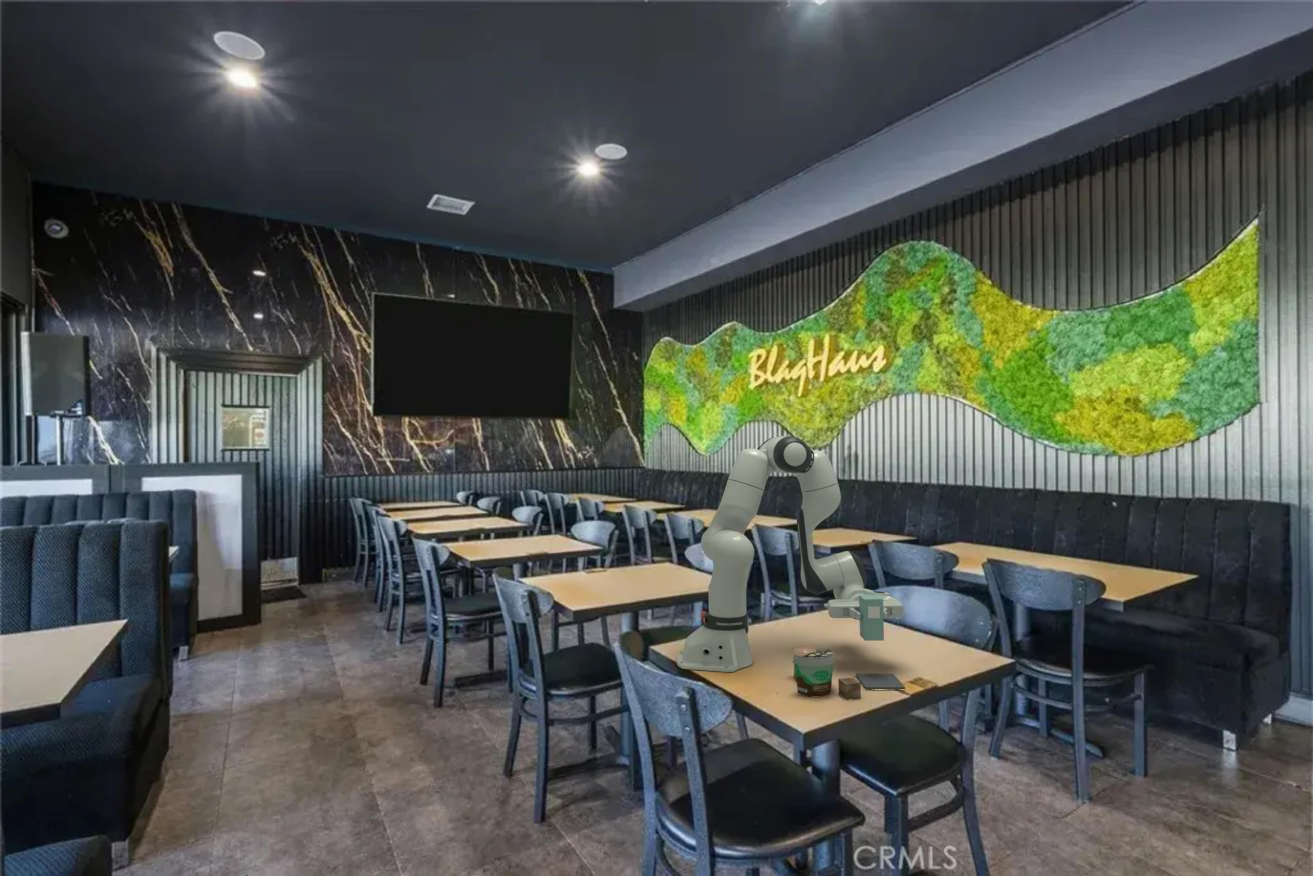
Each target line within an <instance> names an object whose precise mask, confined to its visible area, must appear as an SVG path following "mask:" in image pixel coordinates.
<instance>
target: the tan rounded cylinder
mask: <svg viewBox="0 0 1313 876" xmlns="http://www.w3.org/2000/svg"><path fill="white" fill-rule="evenodd" d="M810 653H817V649H816V648H815V647H813V646H808V645H800V646H795V647H793V655H794V654H795V655H798V656H805V655H807V654H810ZM793 679H794V680H795V682H797V680H796V671H795V663H793Z"/></svg>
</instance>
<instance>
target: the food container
mask: <svg viewBox="0 0 1313 876" xmlns="http://www.w3.org/2000/svg"><path fill="white" fill-rule="evenodd" d="M826 649H827V650H824V651H820V652H816V653H810V654H807V655H805V656H798V655H795V654H794V653H793V657H792V664H794V663H795V671H796V680H797V681H796V680H795V681H796V687H797V689H796V690H797V694H799V693H800V695H804V696H806V697H812V696H820V697H825V695H826V696H828V695H830V694H831V693H832V686H833V685H832V682H833V672H834V671H833V669H834V664H835V663H836V660H837V659H836V656H835V652H834V651H833V649H832V648H830V647H827V648H826Z"/></svg>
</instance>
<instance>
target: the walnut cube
mask: <svg viewBox="0 0 1313 876" xmlns="http://www.w3.org/2000/svg"><path fill="white" fill-rule="evenodd" d="M837 681H838V682H837V683H838V695H839V696H841V697H842V699H843V700H845V699H846V700H845V701H850V700H849V699H853V700H860V699H859V698H861V699H862V692H861V691H862V690H861V688H862V684H861V683H860V681H859V680H858V679H856V678H855V677H854V676H853V677H852V676H851V677H843V678H838V679H837Z"/></svg>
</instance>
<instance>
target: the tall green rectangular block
mask: <svg viewBox="0 0 1313 876" xmlns="http://www.w3.org/2000/svg"><path fill="white" fill-rule="evenodd" d="M859 611H861V612H862V613H863V616H862V617H863V619H860V620H859V636H860V637H861V639H863V641H864V642H871V641H874V642H875V641H876V642H878V641H885V625H884V623H885V622H884V621H885V619H883V599H882V598H881V597H880V596H878V595H859Z"/></svg>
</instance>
